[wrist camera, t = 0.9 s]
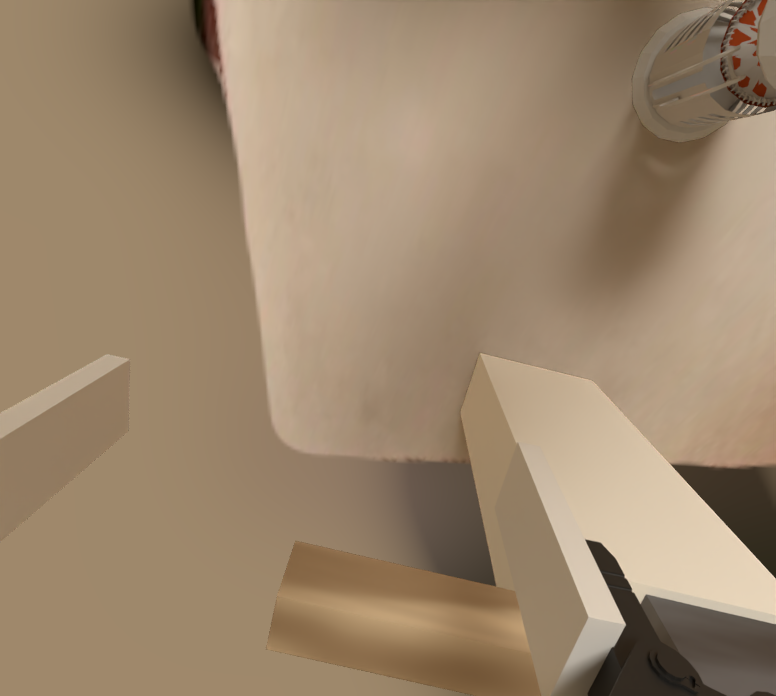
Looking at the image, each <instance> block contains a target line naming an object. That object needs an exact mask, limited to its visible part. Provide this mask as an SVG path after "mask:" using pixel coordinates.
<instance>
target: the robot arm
mask: <svg viewBox="0 0 776 696" xmlns="http://www.w3.org/2000/svg"><path fill="white" fill-rule="evenodd" d="M129 380H130V359H126V358H122V357H117V356H112V355H108V354H106V355H105V356H103V357H101V358H99V359H97V360H96V361H94V362H92V363H90V364H88V365H87V366H85V367H83V368H81V369H79V370H78V371H76V372H74V373H72V374H70V375H68V376H67V377H65V378H63V379H61V380H59V381H58V382H56V383H54V384H52V385H50V386H49V387H47V388H45V389H43V390H42V391H40V392H38V393H36V394H34V395H32V396H30V397H29V398H27V399H25V400H23V401H21V402H20V403H18V404H16V405H14V406H12V407H11V408H9V409H7V410H5V411H3V412H2V413H0V542H1V541H2V540H3V539H4V538H5V537H7V536H8V535H9V534H10V533H11V532H13V531H14V530H15V529H16V528H17V527H18V526H19V525H20V524H22V523H23V522H24V521H25V520H26V519H28V518H29V517H30V516H31V515H32V514H33V513H34V512H36V511H37V510H38V509H39V508H40V507H41V506H43V505H44V504H45V503H46V502H47V501H48V500H50V499H51V497H53V496H54V495H55V494H56V493H58V492H59V491H60V490H61V489H62V488H63V487H65V486H66V485H67V484H68V483H69V482H70V481H72V480H73V479H74V478H75V477H76V476H77V475H78V474H80V473H81V472H82V471H83V470H84V469H85V468H87V467H88V466H89V465H90V464H91V463H92V462H93V461H95V460H96V459H97V458H98V457H99V456H100V455H102V454H103V453H104V452H105V451H106V450H107V449H109V448H110V447H111V446H112V445H113V444H114V443H115V442H117V441H118V440H119V439H120V438H121V437H122V436H124V435H125V434H126V433H127V432H128V431H129ZM495 512H496V516H497V520H498V524H499V528H500V532H501V536H502V540H503V544H504V548H505V552H506V556H507V560H508V564H509V568H510V572H511V576H512V580H513V584H514V588H515V592H516V596H517V600H518V604H519V608H520V612H521V616H522V620H523V624H524V628H525V632H526V636H527V640H528V644H529V648H530V652H531V656H532V660H533V664H534V668H535V672H536V676H537V680H538V685H539V689H540V693H541V696H727V695H725V694H722V693H720V692H718V691H716V690H714V689H712V688H710V687H708V686H706V685H705V684H703V682H702V680H701V678H700V676H699V674H698V672H697V671H696V670H695V669H694V667H693V666H692V665H691V664H690V663H689V661H688V660H687V659H685V658H684V657H683V656H682V655H681V654H679V653H678V652H677V651H676V650H674V649H673V648H671V647H669V646H667V645H666V644H664V643H662V642H661V641H660V640H659V638H658V636H657V634H656V632H655V630H654V628H653V627H652V625H651V623H650V621H649V619H648V617H647V615H646V614H645V612H644V610H643V608H642V606H641V604H640V602H639V601H638V599H637V597H636V595H635V593H634V592H632V588H631V586H630V584H629V582H628V580H627V579H626V578H625V575H624V573H623V571H622V569H621V567H620V565H619V564H618V562H617V560H616V558H615V557H614V556H613V555H612V554H611V553H610V552H609V551H608V550H607V549H606V548H605V547H604V546H603V544H602V543H601V542H596V541H591V540H586V539H584V537H583V535H582V533H581V530H580V528H579V526H578V524H577V522H576V520H575V518H574V516H573V514H572V512H571V510H570V508H569V506H568V503H567V501H566V499H565V497H564V495H563V493H562V491H561V489H560V487H559V485H558V483H557V481H556V479H555V476H554V474H553V472H552V470H551V468H550V466H549V464H548V462H547V460H546V458H545V456H544V454H543V452H542V449H541V447H540V446H536V445H531V444H527V443H522V442H517V445H516V448H515V451H514V454H513V457H512V459H511V462H510V465H509V468H508V471H507V474H506V476H505V479H504V482H503V485H502V488H501V491H500V493H499V496H498V499H497V502H496V505H495ZM750 696H776V695H774V694H771V693H769V692H762V691H756V692H754V693H753V694H751V695H750Z"/></svg>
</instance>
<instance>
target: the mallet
mask: <svg viewBox="0 0 776 696" xmlns="http://www.w3.org/2000/svg"><path fill="white" fill-rule="evenodd" d="M641 606H642V608H643V610H644V612H645V614H646V615H647V617H648V619H649V621H650V623H651V625H652V627H653V628H654V630H655V632H656V634H657V636H658V638H659V640H660V641H661V642H662V643H664V644H666V645H667V646H669V647H671V648H673V649H674V650H676V651H677V652H678V653H679V654H681V655H682V656H683V657H684V658H685V659H687V660H688V661H689V663H690V664H691V665H692V666H693V667H694V669H695V670H696V671H697V672H698V674H699V676H700V678H701V680H702V682H703V684H705V685H706V686H708V687H710V688H712V689H714V690H716V691H718V692H720V693H722V694H725V695H727V696H750V695H751V694H753V693H754V692H756V691H762V692H769V693H771V694H774V695H776V624H772V623H768V622H764V621H759V620H755V619H751V618H746V617H742V616H738V615H733V614H729V613H725V612H720V611H716V610H712V609H708V608H703V607H699V606H695V605H690V604H686V603H682V602H677V601H673V600H669V599H664V598H660V597H656V596H651V595H647V594H646V595H645V597H644V599H643V600H642V602H641ZM266 649H267V650H271V651H276V652H280V653H285V654H290V655H294V656H298V657H303V658H307V659H312V660H316V661H321V662H325V663H330V664H335V665H339V666H343V667H348V668H353V669H357V670H361V671H366V672H370V673H375V674H380V675H384V676H389V677H393V678H398V679H403V680H407V681H411V682H416V683H420V684H425V685H429V686H434V687H438V688H443V689H447V690H452V691H456V692H461V693H465V694H470V695H475V696H541V693H540V689H539V685H538V680H537V676H536V672H535V668H534V664H533V660H532V656H531V652H530V648H529V644H528V640H527V636H526V632H525V628H524V624H523V620H522V616H521V612H520V608H519V604H518V600H517V596H516V592H515V591H513V590H508V589H504V588H500V587H495V586H490V585H487V584H482V583H478V582H473V581H469V580H464V579H460V578H456V577H451V576H447V575H443V574H439V573H434V572H430V571H426V570H421V569H417V568H412V567H408V566H404V565H399V564H395V563H391V562H386V561H382V560H378V559H373V558H369V557H365V556H360V555H356V554H351V553H347V552H342V551H338V550H334V549H330V548H325V547H321V546H316V545H312V544H308V543H303V542H299V541H295V544H294V547H293V550H292V553H291V556H290V559H289V562H288V565H287V568H286V571H285V574H284V577H283V580H282V583H281V586H280V589H279V592H278V595H277V600H276V604H275V609H274V613H273V618H272V623H271V628H270V632H269V637H268V642H267V647H266Z"/></svg>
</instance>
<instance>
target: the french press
mask: <svg viewBox="0 0 776 696" xmlns="http://www.w3.org/2000/svg"><path fill="white" fill-rule="evenodd" d="M732 1H733V0H728V1H727V2H724V3H722V4H721V5H719V6H718V7H716V8H715V9H712V8H707V7H705V8H701V9H697V10H693V11H689V12H684V13H680V14H679V15H678V16H676V17H675V18H673V19H672V20H670V21H669V22H668V23H666V24H665V25H663V26H662V27H660V28H659V29H658V30H657V31H656V32H655V34H654V35H653V36H652V38H651V39H650V40H649V42H648V43H647V45H646V46H645V47H644V49H643V50H642V51H641V53H640V56H639V59H638V62H637V65H636V68H635V71H634V74H633V77H632V99H633V106H634V108H635V110H636V112H637V114H638V117H639V119H640V121H641V123H642V125H643V126H644V127H646V128H647V129H648V130H649V131H651V132H652V133H653V134H655V135H656V136H657V137H658V138H661V139H666V140H670V141H675V142H680V143H681V142H686V141H691V140H695V139H700V138H704V137H706V136H708V135H709V134H711V133H712V132H714V131H715V130H717V129H719V128H720V127H722V126H723V125H725V124H726V123H727V122H728V121H729V120H735V119H739V118H743V117H750V116H754V115H758V114H762V113H766V112H770V111H774V110H775V109H776V0H745V1H744V3H742V2H732ZM721 6H722V7H721ZM727 6H735V7H738V8H739V9H738V10H737V11H734V10H732V9H729V8H726V7H727ZM720 7H721V8H720ZM719 8H720V9H719ZM747 104H749V105H750V106H749V107H748V108H747V109H746V110H745V111H744V112H743V113H742V114H739V113H740V112H741V111H742V110H743V109H744V108H745V107H746V105H747ZM754 106H758V107H757V108H756V109H755V110H754V111H753V112H752V113H751V114H750V115H747V113H748V112H749V111H751V110H752V108H753V107H754ZM763 107H764V108H766V107H767V108H766V109H765V110H764V111H763V112H762V113H758V114H756V113H757V112H758V111H760V110H761V109H762V108H763ZM734 117H738V118H734Z"/></svg>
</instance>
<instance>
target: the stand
mask: <svg viewBox="0 0 776 696" xmlns="http://www.w3.org/2000/svg"><path fill="white" fill-rule="evenodd" d="M460 414H461V419H462V424H463V428H464V433H465V438H466V443H467V448H468V452H469V457H470V462H471V467H472V472H473V476H474V481H475V486H476V491H477V496H478V500H479V504H480V510H481V515H482V519H483V524H484V529H485V533H486V539H487V543H488V548H489V553H490V558H491V562H492V567H493V572H494V576H495V582H496V587H500V588H504V589H508V590H513V591H515V588H514V584H513V580H512V576H511V572H510V568H509V564H508V560H507V556H506V552H505V548H504V544H503V540H502V536H501V532H500V528H499V524H498V520H497V516H496V512H495V505H496V502H497V499H498V496H499V493H500V491H501V488H502V485H503V482H504V479H505V476H506V474H507V471H508V468H509V465H510V462H511V459H512V457H513V454H514V451H515V448H516V445H517V442H522V443H527V444H531V445H536V446H540V447H541V449H542V452H543V454H544V456H545V458H546V460H547V462H548V464H549V466H550V468H551V470H552V472H553V474H554V476H555V479H556V481H557V483H558V485H559V487H560V489H561V491H562V493H563V495H564V497H565V499H566V501H567V503H568V506H569V508H570V510H571V512H572V514H573V516H574V518H575V520H576V522H577V524H578V526H579V528H580V530H581V533H582V535H583V537H584V539H586V540H591V541H596V542H601V543H602V544H603V546H604V547H605V548H606V549H607V550H608V551H609V552H610V553H611V554H612V555H613V556H614V557H615V558H616V560H617V562H618V564H619V565H620V567H621V569H622V571H623V573H624V575H625V578H626V579H627V580H628V582H629V584H630V586H631V588H632V592H634V593H635V595H636V597H637V599H638V601H639V602H640V604H641V602H642V600H643V599H644V597H645V595H646V594H647V595H651V596H656V597H660V598H664V599H669V600H673V601H677V602H682V603H686V604H690V605H695V606H699V607H703V608H708V609H712V610H716V611H720V612H725V613H729V614H733V615H738V616H742V617H746V618H751V619H755V620H759V621H764V622H768V623H772V624H776V579H775V578H774V576H773V575H772V574H771V573H770V572H769V571H768V570H767V569H766V568H765V567H764V566H763V565H762V563H761V562H760V561H759V560H758V559H757V558H756V557H755V556H754V555H753V554H752V553H751V552H750V550H748V548H747V547H746V546H745V545H744V544H743V543H742V542H741V541H740V540H739V539H738V538H737V536H736V535H735V534H734V533H733V532H732V531H731V530H730V529H729V528H728V527H727V526H726V525H725V524H724V522H723V521H722V520H721V519H720V518H719V517H718V516H717V515H716V514H715V513H714V511H713V510H712V509H711V508H710V507H709V506H708V505H707V504H706V503H705V502H704V501H703V500H702V499H701V497H700V496H699V495H698V494H697V493H696V492H695V491H694V490H693V489H692V488H691V487H690V486H689V484H688V483H687V482H686V481H685V480H684V479H683V478H682V477H681V476H680V475H679V474H678V473H677V472H676V470H675V469H674V468H673V467H672V466H671V465H670V464H669V463H668V462H667V461H666V460H665V458H664V457H663V456H662V455H661V454H660V453H659V452H658V451H657V450H656V449H655V448H654V447H653V445H652V444H651V443H650V442H649V441H648V440H647V439H646V438H645V437H644V436H643V435H642V434H641V432H640V431H639V430H638V429H637V428H636V427H635V426H634V425H633V424H632V423H631V422H630V421H629V419H628V418H627V417H626V416H625V415H624V414H623V413H622V412H621V411H620V410H619V409H618V408H617V407H616V405H615V404H614V403H613V402H612V401H611V400H610V399H609V398H608V397H607V396H606V395H605V394H604V392H603V391H602V390H601V389H600V388H599V387H598V386H597V385H596V384H595V383H594V382H593V381H592V380H589V379H585V378H580V377H576V376H572V375H568V374H564V373H560V372H556V371H552V370H548V369H544V368H540V367H536V366H532V365H528V364H523V363H519V362H515V361H511V360H507V359H503V358H499V357H495V356H491V355H487V354H483V353H480V354H479V357H478V360H477V363H476V366H475V369H474V372H473V375H472V378H471V381H470V384H469V387H468V390H467V393H466V396H465V399H464V402H463V405H462V408H461V411H460Z"/></svg>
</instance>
